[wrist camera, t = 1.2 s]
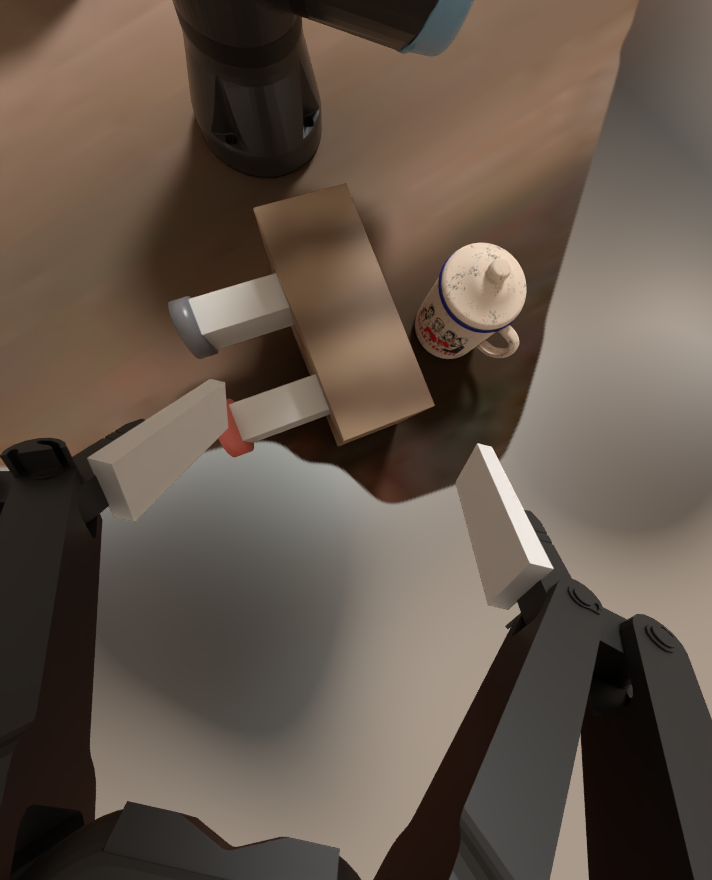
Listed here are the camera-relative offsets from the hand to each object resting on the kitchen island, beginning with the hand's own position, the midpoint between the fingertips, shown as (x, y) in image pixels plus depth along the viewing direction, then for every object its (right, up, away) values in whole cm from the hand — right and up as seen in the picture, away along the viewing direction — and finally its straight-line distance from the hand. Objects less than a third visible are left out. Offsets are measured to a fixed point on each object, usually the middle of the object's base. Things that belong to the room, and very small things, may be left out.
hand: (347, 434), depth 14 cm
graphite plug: (-10, +12, +15) cm, 21 cm away
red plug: (-6, +3, +14) cm, 16 cm away
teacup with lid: (+13, +13, +22) cm, 29 cm away
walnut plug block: (-2, +10, +20) cm, 22 cm away
